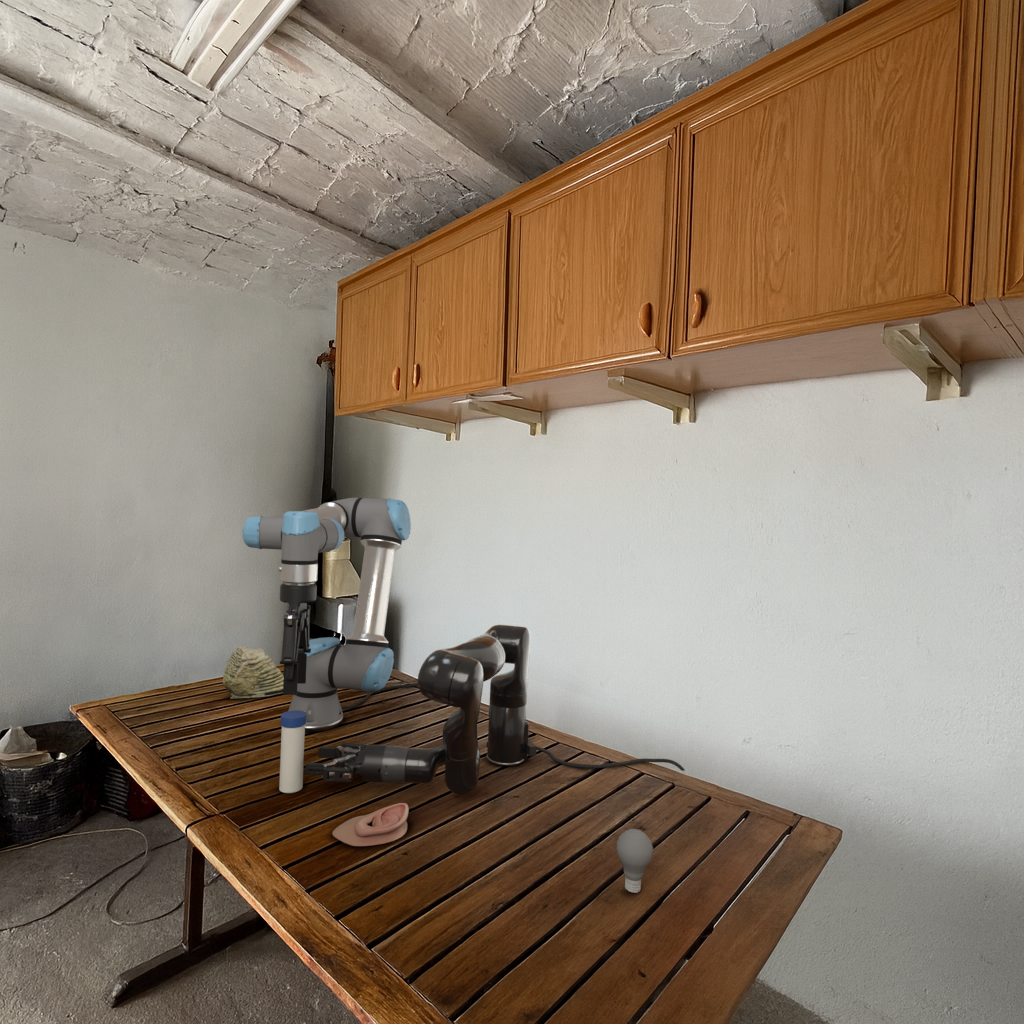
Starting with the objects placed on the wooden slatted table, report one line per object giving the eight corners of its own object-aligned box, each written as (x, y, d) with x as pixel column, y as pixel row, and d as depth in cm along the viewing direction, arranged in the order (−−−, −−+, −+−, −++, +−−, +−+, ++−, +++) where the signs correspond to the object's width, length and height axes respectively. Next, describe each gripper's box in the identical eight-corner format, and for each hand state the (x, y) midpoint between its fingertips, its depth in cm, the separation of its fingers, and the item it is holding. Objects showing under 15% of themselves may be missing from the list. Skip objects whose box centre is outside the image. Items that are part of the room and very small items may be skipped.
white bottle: (275, 792, 135) (278, 719, 135) (284, 782, 140) (287, 712, 139) (297, 793, 135) (300, 721, 134) (306, 783, 139) (308, 713, 139)
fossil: (218, 695, 195) (220, 647, 195) (278, 685, 208) (279, 640, 207) (228, 703, 189) (230, 653, 188) (289, 692, 201) (290, 645, 201)
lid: (276, 726, 134) (276, 717, 134) (286, 718, 140) (287, 709, 140) (300, 728, 134) (300, 719, 134) (309, 720, 139) (310, 711, 139)
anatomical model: (325, 820, 116) (352, 792, 127) (324, 841, 116) (352, 812, 128) (392, 830, 114) (415, 801, 125) (392, 852, 114) (414, 821, 125)
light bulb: (610, 879, 108) (613, 822, 108) (644, 879, 109) (647, 822, 109) (619, 902, 102) (622, 840, 102) (655, 901, 103) (658, 840, 103)
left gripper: (292, 576, 146) (288, 675, 147) (267, 589, 126) (263, 703, 126) (325, 577, 147) (321, 675, 147) (305, 590, 127) (301, 703, 127)
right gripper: (394, 734, 143) (323, 730, 144) (380, 760, 129) (301, 756, 129) (393, 767, 144) (322, 763, 144) (378, 796, 129) (299, 792, 130)
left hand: (294, 688), depth 137 cm, fingers open, 7 cm apart
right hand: (312, 759), depth 137 cm, fingers open, 8 cm apart
